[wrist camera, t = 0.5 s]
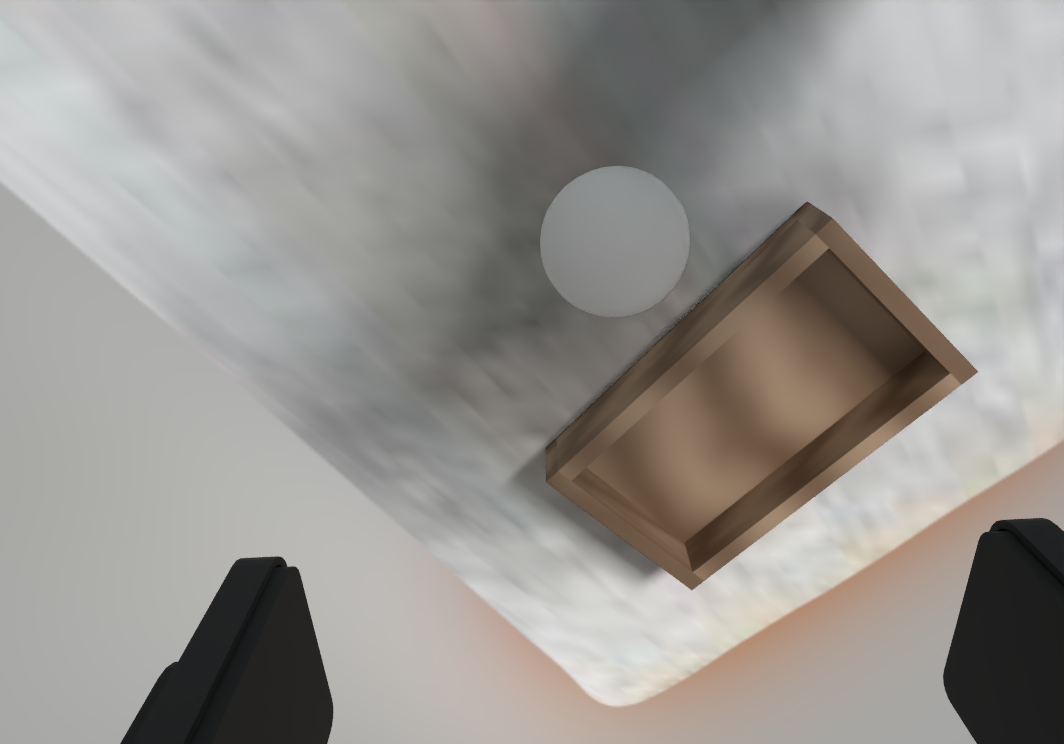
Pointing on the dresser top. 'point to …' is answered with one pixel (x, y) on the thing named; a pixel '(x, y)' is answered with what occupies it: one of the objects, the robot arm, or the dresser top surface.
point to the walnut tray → (755, 401)
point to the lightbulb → (615, 241)
